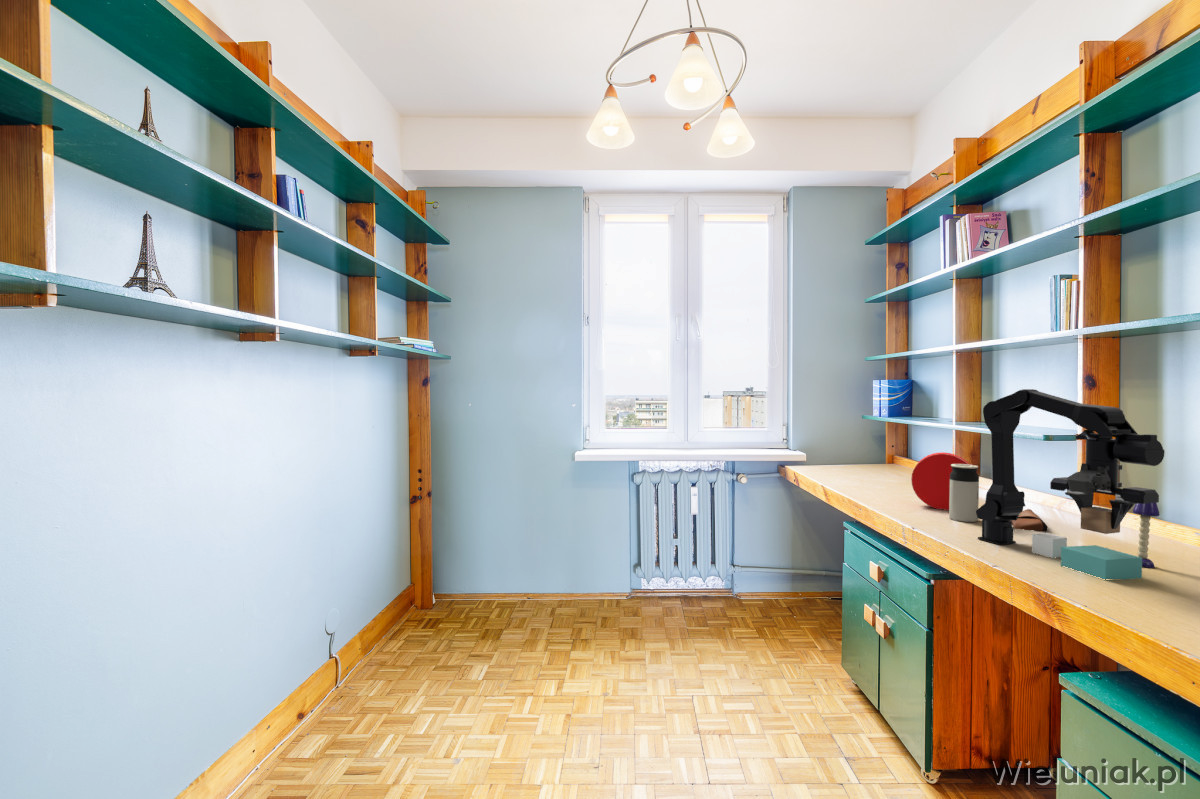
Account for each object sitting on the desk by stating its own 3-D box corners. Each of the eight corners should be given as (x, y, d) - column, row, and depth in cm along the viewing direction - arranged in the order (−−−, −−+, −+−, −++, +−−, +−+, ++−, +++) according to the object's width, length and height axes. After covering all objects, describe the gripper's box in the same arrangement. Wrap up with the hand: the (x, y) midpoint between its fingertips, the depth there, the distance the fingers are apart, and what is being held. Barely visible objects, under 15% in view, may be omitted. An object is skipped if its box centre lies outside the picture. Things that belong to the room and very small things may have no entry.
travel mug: (946, 519, 179) (947, 465, 179) (952, 515, 185) (953, 463, 184) (974, 523, 173) (975, 467, 173) (980, 519, 179) (981, 465, 178)
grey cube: (1031, 552, 143) (1032, 534, 143) (1045, 551, 144) (1046, 532, 144) (1052, 558, 138) (1053, 539, 138) (1066, 557, 140) (1066, 537, 140)
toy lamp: (1145, 562, 135) (1147, 496, 135) (1163, 568, 130) (1165, 499, 130) (1125, 562, 135) (1126, 495, 135) (1142, 568, 131) (1144, 499, 130)
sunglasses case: (1002, 516, 183) (1015, 500, 182) (1024, 529, 180) (1038, 513, 179) (1013, 528, 167) (1027, 511, 166) (1037, 543, 165) (1052, 525, 163)
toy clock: (976, 510, 193) (977, 454, 192) (977, 513, 188) (978, 456, 188) (912, 503, 204) (912, 450, 204) (910, 506, 199) (911, 452, 199)
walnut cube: (1080, 528, 130) (1081, 507, 129) (1094, 527, 131) (1095, 506, 131) (1105, 533, 125) (1105, 512, 125) (1119, 532, 126) (1120, 510, 126)
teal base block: (1060, 567, 132) (1061, 546, 132) (1095, 565, 134) (1095, 545, 134) (1105, 581, 122) (1105, 559, 122) (1141, 579, 124) (1142, 557, 124)
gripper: (1035, 456, 134) (1033, 519, 134) (1127, 466, 116) (1125, 539, 117) (1066, 455, 137) (1065, 516, 138) (1161, 464, 120) (1159, 535, 120)
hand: (1100, 526), depth 128 cm, fingers closed on walnut cube, 5 cm apart
